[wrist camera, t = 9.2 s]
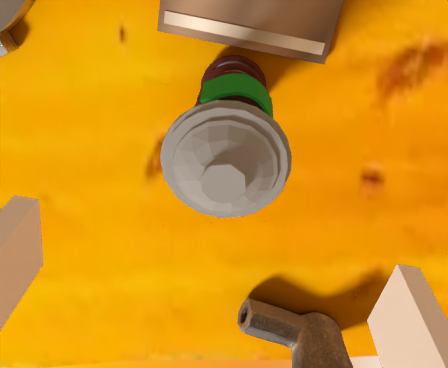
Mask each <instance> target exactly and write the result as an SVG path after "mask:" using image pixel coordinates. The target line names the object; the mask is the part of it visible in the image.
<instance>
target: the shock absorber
mask: <svg viewBox="0 0 448 368" xmlns="http://www.w3.org/2000/svg"><path fill="white" fill-rule="evenodd" d="M291 157H292V156H291V151H290V148H289V144H288V140H287V137H286V135H285V134H284V132H283V131H282V129H281V127H280V126H279V124H278V123H277V122H276V121H275V120H274V119H273V107H272V100H271V97H270V96H269V94H268V92H267V90H266V81H265V77H264V74H263V73H262V71H261V69H260V68H259V66H258V65H257V64H255V63H254V62H253V61H251V60H249V59H247V58H245V57H242V56H239V55H231V56H225V57H222V58H220V59H218V60H216V61H214V62H213V63H212V64H210V66H209V67H208V68H207V69H206V71H205V73H204V76H203V78H202V81H201V89H200V93H199V95H198V98H197V102H196V104H195V106H194V107H193V108H192V109H190V110H188V111H187V112H185V113H183V114H182V115H180V116H179V117H178V118H177V119H176V121H175V122H174V123H173V124H172V125H171V127H170V128H169V130H168V132H167V134H166V136H165V138H164V140H163V144H162V148H161V155H160V160H161V165H162V170H163V174H164V179H165V181H166V182H167V184H168V185H169V187H170V188H171V190H172V191H173V193H174V194H175V195H176V196H177V197H178V198H179V199H180V200H181V201H182V202H183V203H184V204H186V205H187V206H188V207H191V208H193V209H194V210H196V211H197V212H200V213H203V214H207V215H211V216H214V217H218V218H228V217H243V216H246V215H248V214H252V213H255V212H257V211H259V210H260V209H262V208H264V207H265V206H267V205H269V204H270V203H271V202H272V201H273V200H274V199H275V198H276V197H277V196H278V195H279V194H280V193H281V192H282V190H283V188H284V186H285V183H286V181H287V179H288V177H289V174H290V172H291Z"/></svg>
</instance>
